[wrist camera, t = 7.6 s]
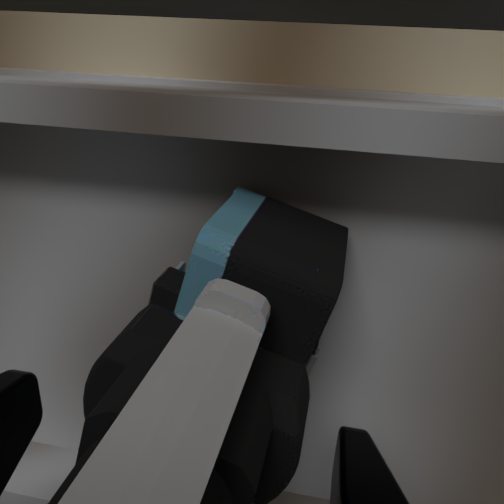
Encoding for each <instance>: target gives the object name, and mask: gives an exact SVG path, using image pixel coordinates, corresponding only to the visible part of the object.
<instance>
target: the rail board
mask: <svg viewBox="0 0 504 504" xmlns="http://www.w3.org/2000/svg"><path fill="white" fill-rule="evenodd" d="M237 187H242V188H245V189H248V190H250V191H253V192H255V193H258V194H261V195H263V196H266V197H269V198H272V199H275V200H277V201H280V202H283V203H285V204H288V205H290V206H293V207H296V208H298V209H301V210H303V211H306V212H309V213H311V214H314V215H316V216H319V217H322V218H324V219H327V220H330V221H332V222H334V223H337V224H340V225H342V226H345V227H347V228H348V229H349V230H348V240H347V249H346V259H345V269H344V279H343V284H342V288H341V291H340V294H339V297H338V300H337V302H336V305H335V307H334V309H333V311H332V313H331V315H330V317H329V320H328V322H327V324H326V326H325V328H324V330H323V336H322V342H321V348H320V350H319V352H318V354H319V358H318V360H317V362H316V364H315V366H314V368H313V370H312V372H311V374H310V377H309V388H310V400H309V406H308V412H307V418H306V424H305V430H304V437H303V443H302V449H301V455H300V460H299V464H298V467H297V469H296V472H295V474H294V476H293V478H292V479H291V481H290V483H289V484H288V486H287V487H286V488H285V489H284V490H283V491H282V492H281V494H280V495H279V496H278V497H276V498H275V499H274V500H272V501H271V502H270V503H268V504H330V493H331V479H332V469H333V462H334V456H335V449H336V443H337V436H338V431H339V429H340V427H342V426H347V427H353V428H359V429H364V430H366V431H367V432H368V433H369V434H370V436H371V438H372V439H373V441H374V443H375V445H376V446H377V448H378V450H379V452H380V453H381V455H382V457H383V458H384V460H385V462H386V464H387V465H388V467H389V469H390V471H391V472H392V474H393V476H394V478H395V479H396V481H397V483H398V485H399V486H400V488H401V490H402V492H403V493H404V495H405V497H406V498H407V500H408V502H409V504H504V31H490V30H465V29H441V28H416V27H391V26H367V25H342V24H318V23H293V22H268V21H244V20H219V19H195V18H170V17H145V16H121V15H96V14H72V13H47V12H22V11H0V373H2V372H5V371H7V370H11V369H15V370H21V371H27V372H32V373H34V374H35V375H36V377H37V379H38V384H39V390H40V396H41V402H42V408H43V415H42V420H41V423H40V425H39V428H38V429H37V431H36V433H35V435H34V437H33V438H32V440H31V442H30V444H29V446H28V447H27V449H26V451H25V453H24V455H23V456H22V458H21V460H20V462H19V464H18V465H17V467H16V469H15V471H14V473H13V474H12V476H11V478H10V480H9V482H8V483H7V485H6V487H5V489H4V491H3V492H2V494H1V496H0V504H48V503H49V501H50V500H51V498H52V497H53V496H54V494H55V493H56V491H57V490H58V489H59V487H60V486H61V484H62V483H63V482H64V480H65V479H66V477H67V476H68V475H69V473H70V472H71V470H72V469H73V467H74V466H75V463H76V459H77V454H78V449H79V445H80V440H81V435H82V430H83V426H84V422H85V417H84V409H83V395H84V388H85V383H86V380H87V377H88V375H89V372H90V370H91V368H92V366H93V365H94V363H95V361H96V360H97V359H98V358H99V357H100V355H101V354H102V353H103V352H104V351H105V350H106V348H107V347H108V346H109V345H110V344H111V343H112V342H113V341H114V339H115V338H116V337H117V336H118V335H119V334H120V333H121V332H122V330H123V329H124V328H125V327H126V326H127V325H128V324H129V323H130V321H131V320H132V319H133V318H134V317H135V316H136V315H137V314H138V313H139V312H140V311H141V310H143V309H144V308H145V307H146V306H148V302H149V298H150V294H151V290H152V286H153V283H154V282H155V281H156V280H157V279H158V277H159V276H160V275H161V274H162V273H163V272H164V271H165V270H166V269H167V268H168V267H173V268H176V266H177V265H178V264H179V263H180V262H181V261H183V262H185V264H186V267H185V271H184V272H185V273H186V269H187V266H188V262H189V259H190V255H191V252H192V249H193V247H194V244H195V241H196V239H197V237H198V235H199V233H200V231H201V229H202V228H203V226H204V225H205V223H206V222H207V221H208V220H209V219H210V218H211V217H212V216H213V215H214V214H215V213H216V212H217V211H218V210H219V209H220V208H221V207H222V206H223V205H224V203H225V202H226V201H227V200H228V199H229V198H230V197H231V196H232V194H233V191H234V190H235V189H236V188H237ZM252 504H253V503H252Z"/></svg>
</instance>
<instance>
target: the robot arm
mask: <svg viewBox="0 0 504 504" xmlns="http://www.w3.org/2000/svg"><path fill="white" fill-rule="evenodd" d="M42 415H43V408H42V402H41V396H40V390H39V384H38V379H37V377H36V375H35V374H34V373H32V372H27V371H21V370H15V369H11V370H7V371H5V372H2V373H0V496H1V494H2V492H3V491H4V489H5V487H6V485H7V483H8V482H9V480H10V478H11V476H12V474H13V473H14V471H15V469H16V467H17V465H18V464H19V462H20V460H21V458H22V456H23V455H24V453H25V451H26V449H27V447H28V446H29V444H30V442H31V440H32V438H33V437H34V435H35V433H36V431H37V429H38V428H39V425H40V423H41V420H42ZM330 504H409V502H408V500H407V498H406V497H405V495H404V493H403V492H402V490H401V488H400V486H399V485H398V483H397V481H396V479H395V478H394V476H393V474H392V472H391V471H390V469H389V467H388V465H387V464H386V462H385V460H384V458H383V457H382V455H381V453H380V452H379V450H378V448H377V446H376V445H375V443H374V441H373V439H372V438H371V436H370V434H369V433H368V432H367V431H366V430H364V429H359V428H353V427H347V426H342V427H340V429H339V431H338V436H337V443H336V449H335V456H334V462H333V469H332V479H331V493H330Z"/></svg>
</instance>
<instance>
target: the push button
mask: <svg viewBox="0 0 504 504" xmlns="http://www.w3.org/2000/svg"><path fill="white" fill-rule="evenodd" d="M348 230H349V229H348V228H347V227H345V226H342V225H340V224H337V223H334V222H332V221H330V220H327V219H324V218H322V217H319V216H316V215H314V214H311V213H309V212H306V211H303V210H301V209H298V208H296V207H293V206H290V205H288V204H285V203H283V202H280V201H277V200H275V199H272V198H269V197H266V196H263V195H261V194H258V193H255V192H253V191H250V190H248V189H245V188H242V187H237V188H236V189H235V190H234V191H233V194H232V196H231V197H230V198H229V199H228V200H227V201H226V202H225V203H224V205H223V206H222V207H221V208H220V209H219V210H218V211H217V212H216V213H215V214H214V215H213V216H212V217H211V218H210V219H209V220H208V221H207V222H206V223H205V225H204V226H203V228H202V229H201V231H200V233H199V235H198V237H197V239H196V241H195V244H194V247H193V249H192V252H191V255H190V259H189V262H188V266H187V269H186V273H185V272H184V271H185V267H186V264H185V262H183V261H181V262H180V263H179V264H178V265H177V266H176V268H173V267H168V268H167V269H166V270H165V271H164V272H163V273H162V274H161V275H160V276H159V277H158V279H157V280H156V281H155V282H154V283H153V286H152V290H151V294H150V298H149V302H148V306H146V307H145V308H144V309H143V310H141V311H140V312H139V313H138V314H137V315H136V316H135V317H134V318H133V319H132V320H131V321H130V323H129V324H128V325H127V326H126V327H125V328H124V329H123V330H122V332H121V333H120V334H119V335H118V336H117V337H116V338H115V339H114V341H113V342H112V343H111V344H110V345H109V346H108V347H107V348H106V350H105V351H104V352H103V353H102V354H101V355H100V357H99V358H98V359H97V360H96V361H95V363H94V365H93V366H92V368H91V370H90V372H89V375H88V377H87V380H86V383H85V388H84V395H83V409H84V417H85V422H84V426H83V430H82V435H81V440H80V445H79V449H78V454H77V459H76V463H75V466H74V467H73V469H72V470H71V472H70V473H69V475H68V476H67V477H66V479H65V480H64V482H63V483H62V484H61V486H60V487H59V489H58V490H57V491H56V493H55V494H54V496H53V497H52V498H51V500H50V501H49V503H48V504H252V503H253V504H268V503H270V502H271V501H272V500H274V499H275V498H276V497H278V496H279V495H280V494H281V492H282V491H283V490H284V489H285V488H286V487H287V486H288V484H289V483H290V481H291V479H292V478H293V476H294V474H295V472H296V469H297V467H298V464H299V460H300V455H301V449H302V443H303V437H304V430H305V424H306V418H307V412H308V406H309V400H310V388H309V377H310V374H311V372H312V370H313V368H314V366H315V364H316V362H317V360H318V358H319V354H318V352H319V350H320V348H321V342H322V336H323V330H324V328H325V326H326V324H327V322H328V320H329V317H330V315H331V313H332V311H333V309H334V307H335V305H336V302H337V300H338V297H339V294H340V291H341V288H342V284H343V279H344V269H345V259H346V249H347V240H348Z"/></svg>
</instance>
